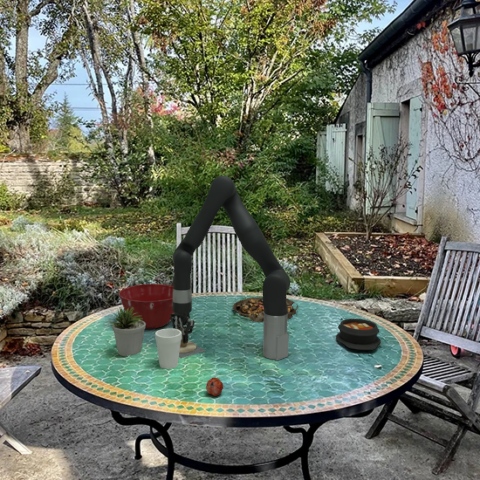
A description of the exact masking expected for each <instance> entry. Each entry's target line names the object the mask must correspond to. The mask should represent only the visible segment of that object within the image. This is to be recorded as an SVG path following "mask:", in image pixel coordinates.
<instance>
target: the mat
mask: <svg viewBox="0 0 480 480" xmlns="http://www.w3.org/2000/svg"><path fill="white" fill-rule="evenodd" d="M206 351H207V349H205V348H202V347H200V346H198V345H196V350H194V351H193V352H190V353H184V354H179V359H184V358H187V357H191V356H193V355H196V354H201V353H203V352H206Z"/></svg>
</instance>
